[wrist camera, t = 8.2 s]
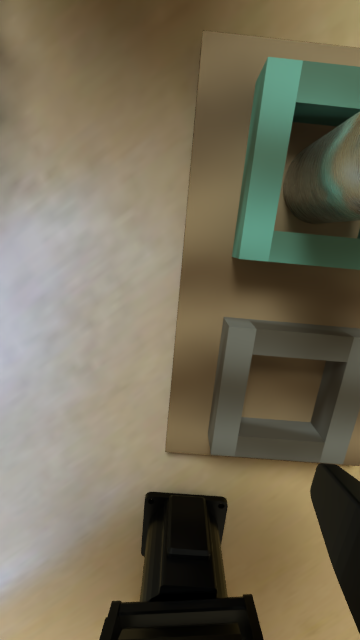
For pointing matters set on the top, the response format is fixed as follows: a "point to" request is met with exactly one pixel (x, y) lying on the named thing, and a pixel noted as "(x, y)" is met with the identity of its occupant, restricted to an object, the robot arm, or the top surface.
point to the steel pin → (327, 177)
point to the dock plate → (266, 263)
